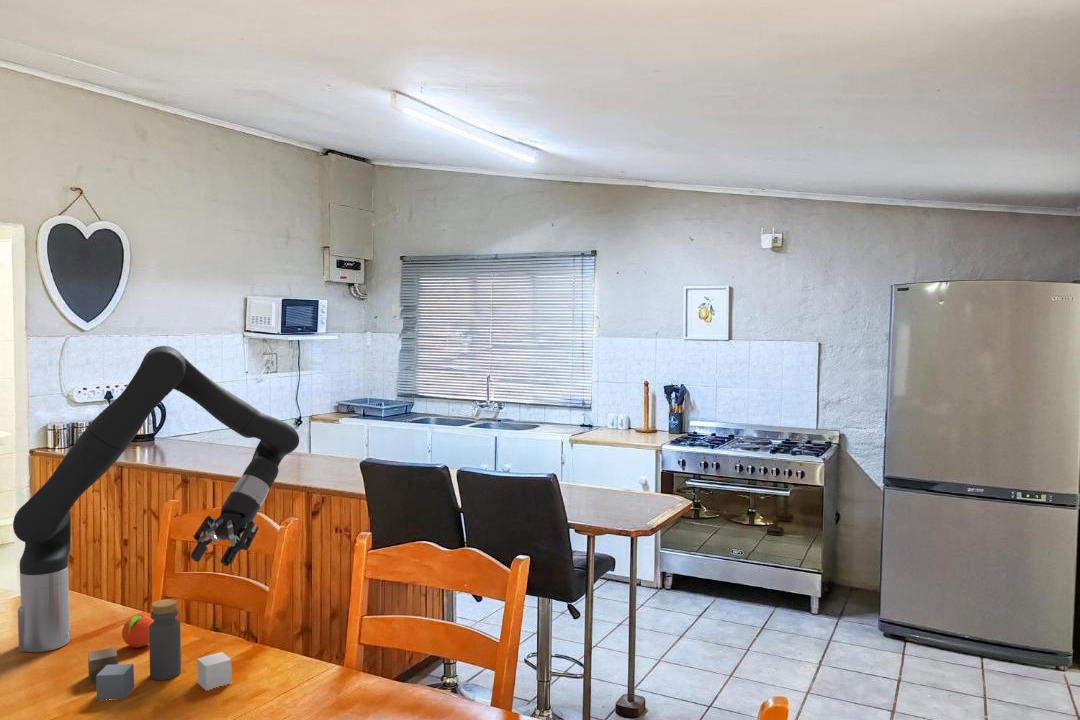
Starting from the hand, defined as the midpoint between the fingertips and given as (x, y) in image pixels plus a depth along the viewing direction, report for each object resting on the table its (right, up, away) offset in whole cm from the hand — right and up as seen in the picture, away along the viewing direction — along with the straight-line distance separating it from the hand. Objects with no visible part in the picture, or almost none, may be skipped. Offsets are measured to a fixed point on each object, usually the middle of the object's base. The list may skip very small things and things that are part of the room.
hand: (209, 562), depth 179 cm
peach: (-17, -20, +4) cm, 27 cm away
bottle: (-5, -21, -10) cm, 24 cm away
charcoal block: (-11, -21, -19) cm, 30 cm away
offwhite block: (+7, -21, -14) cm, 26 cm away
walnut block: (-17, -21, -12) cm, 29 cm away
